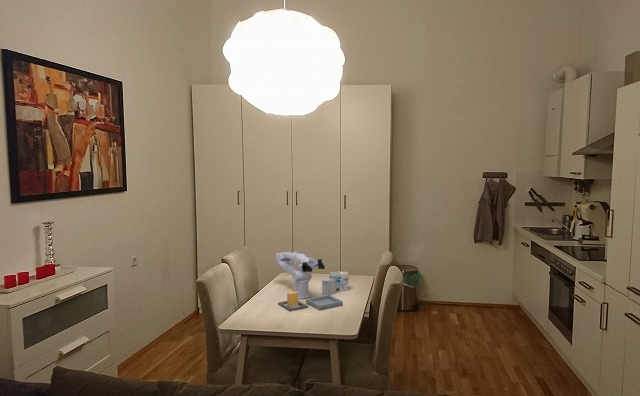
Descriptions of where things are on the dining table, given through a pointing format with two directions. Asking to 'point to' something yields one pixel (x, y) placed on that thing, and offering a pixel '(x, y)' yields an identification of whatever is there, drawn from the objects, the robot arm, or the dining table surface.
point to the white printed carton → (340, 280)
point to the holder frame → (302, 306)
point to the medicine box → (328, 286)
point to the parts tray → (324, 302)
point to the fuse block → (292, 299)
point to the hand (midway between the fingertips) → (317, 268)
